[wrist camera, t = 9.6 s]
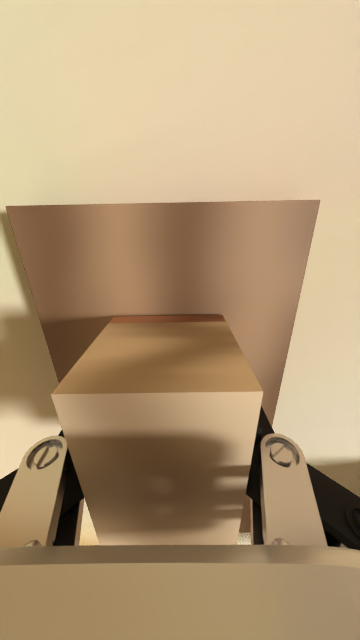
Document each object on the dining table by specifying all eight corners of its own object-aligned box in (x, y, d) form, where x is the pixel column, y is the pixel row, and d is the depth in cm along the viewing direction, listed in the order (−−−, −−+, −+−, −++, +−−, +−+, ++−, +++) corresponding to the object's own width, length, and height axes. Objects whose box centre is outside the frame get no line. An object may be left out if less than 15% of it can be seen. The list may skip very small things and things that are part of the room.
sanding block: (222, 314, 9) (263, 391, 5) (214, 437, 12) (234, 556, 8) (113, 316, 9) (50, 394, 5) (132, 438, 13) (104, 558, 8)
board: (299, 205, 9) (320, 199, 8) (244, 509, 18) (249, 532, 17) (31, 210, 9) (5, 206, 8) (110, 511, 18) (104, 533, 17)
